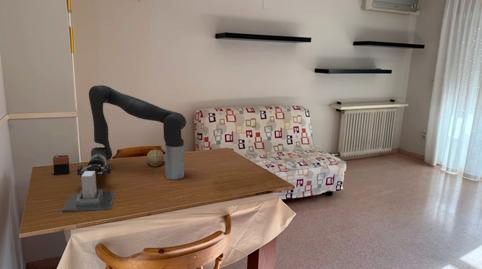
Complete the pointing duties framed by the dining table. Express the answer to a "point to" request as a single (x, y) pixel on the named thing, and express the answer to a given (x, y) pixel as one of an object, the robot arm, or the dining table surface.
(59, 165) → the battery
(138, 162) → the dining table surface
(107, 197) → the grey box holder
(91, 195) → the skincare box
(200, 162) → the dining table surface
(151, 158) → the bread roll
